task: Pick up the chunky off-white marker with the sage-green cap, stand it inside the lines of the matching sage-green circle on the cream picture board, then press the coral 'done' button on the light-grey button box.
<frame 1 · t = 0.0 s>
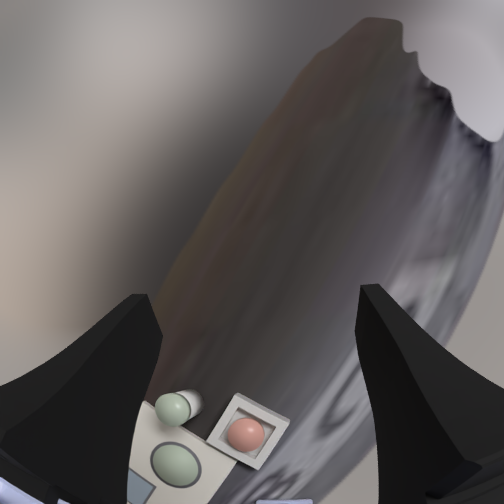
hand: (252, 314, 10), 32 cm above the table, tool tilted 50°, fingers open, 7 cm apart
done button: (246, 434, 34), point 3 cm above the table, slide at 0.0 cm
marker: (190, 402, 39), on the table
picture board: (161, 476, 35), on the table
button box: (249, 429, 37), on the table
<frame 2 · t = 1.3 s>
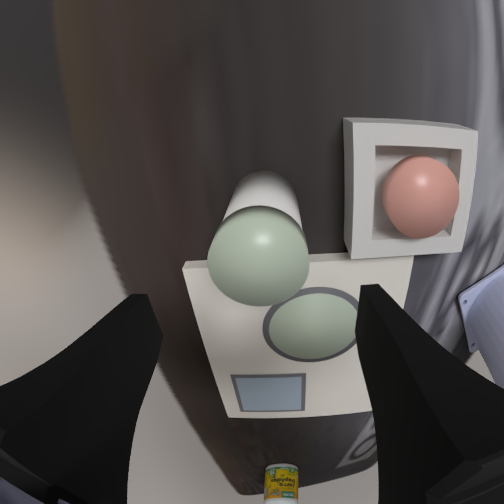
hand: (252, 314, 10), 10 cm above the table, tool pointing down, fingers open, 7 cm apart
done button: (421, 197, 15), point 3 cm above the table, slide at 0.0 cm
marker: (264, 201, 19), on the table
picture board: (301, 353, 26), on the table
button box: (403, 181, 18), on the table
supplement bottle: (282, 466, 41), on the table
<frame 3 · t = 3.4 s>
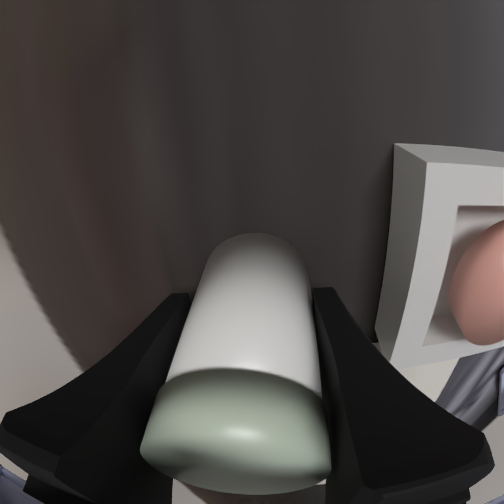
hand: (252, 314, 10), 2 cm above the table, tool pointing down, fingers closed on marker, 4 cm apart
marker: (256, 279, 12), on the table, touching gripper
picture board: (304, 438, 19), on the table
button box: (470, 244, 10), on the table
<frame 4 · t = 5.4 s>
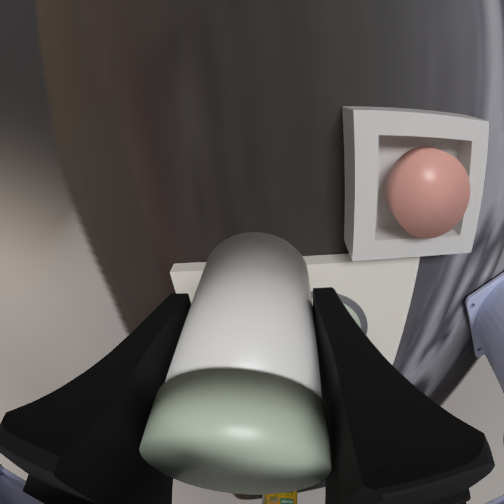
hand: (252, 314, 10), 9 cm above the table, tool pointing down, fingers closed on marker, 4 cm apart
done button: (429, 192, 13), point 3 cm above the table, slide at 0.0 cm
marker: (256, 279, 12), point 7 cm above the table, touching gripper
picture board: (298, 360, 24), on the table
button box: (408, 175, 16), on the table
supplement bottle: (280, 472, 40), on the table
when the fingers open (5 cm above the table, at t = 7.8 s): marker drops 1 cm, resting on picture board.
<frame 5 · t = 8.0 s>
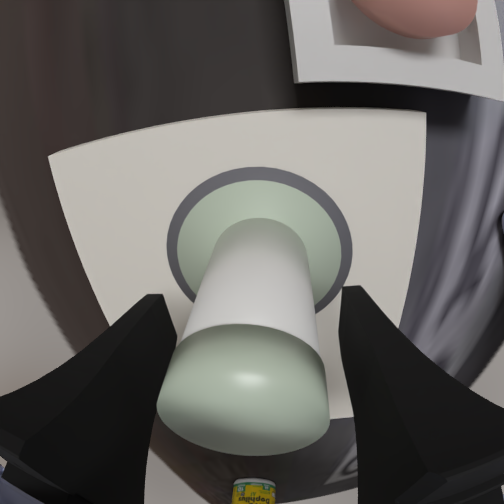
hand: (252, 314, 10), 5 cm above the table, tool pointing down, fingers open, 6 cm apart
marker: (259, 261, 13), point 1 cm above the table, touching picture board
picture board: (247, 315, 16), on the table
supplement bottle: (255, 481, 32), on the table
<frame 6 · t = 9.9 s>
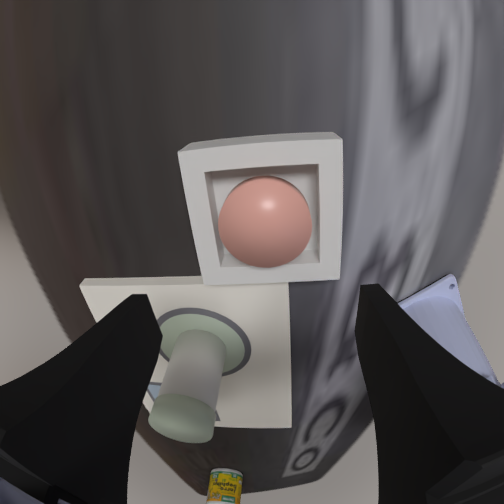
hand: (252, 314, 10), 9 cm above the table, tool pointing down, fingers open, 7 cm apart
done button: (265, 222, 16), point 3 cm above the table, slide at 0.0 cm
marker: (201, 347, 23), point 1 cm above the table, touching picture board
picture board: (201, 367, 26), on the table
button box: (267, 202, 18), on the table
supplement bottle: (227, 471, 42), on the table
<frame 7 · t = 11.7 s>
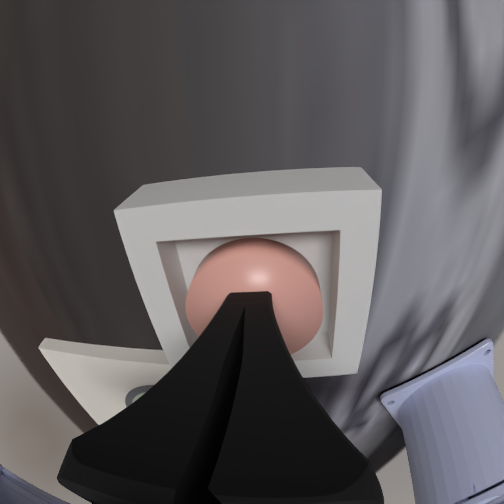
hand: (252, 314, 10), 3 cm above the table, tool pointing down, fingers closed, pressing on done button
done button: (254, 305, 11), point 2 cm above the table, slide at 0.6 cm, touching gripper
picture board: (187, 431, 21), on the table
button box: (258, 269, 13), on the table
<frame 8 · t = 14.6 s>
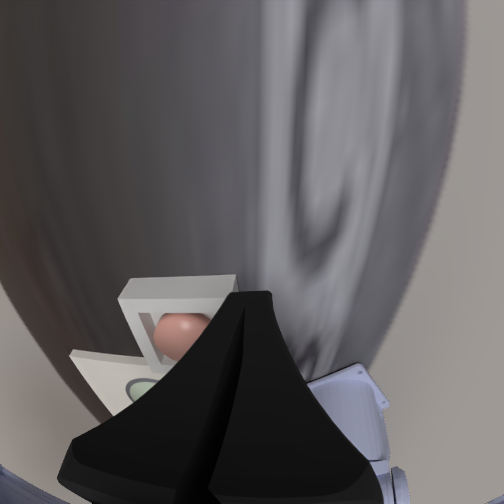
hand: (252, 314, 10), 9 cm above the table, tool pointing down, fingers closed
done button: (185, 338, 21), point 2 cm above the table, slide at 0.8 cm
picture board: (166, 411, 31), on the table
button box: (192, 319, 23), on the table
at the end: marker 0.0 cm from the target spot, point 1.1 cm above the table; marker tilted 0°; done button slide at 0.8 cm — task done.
